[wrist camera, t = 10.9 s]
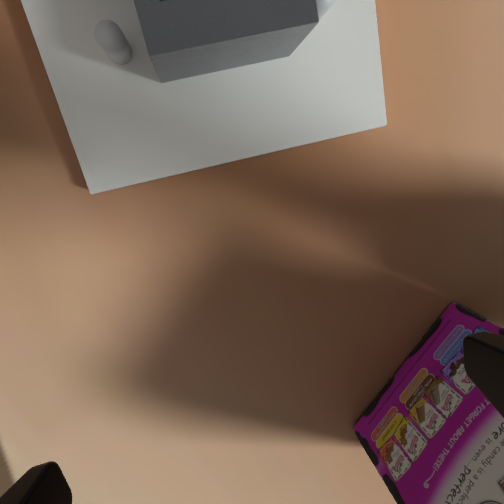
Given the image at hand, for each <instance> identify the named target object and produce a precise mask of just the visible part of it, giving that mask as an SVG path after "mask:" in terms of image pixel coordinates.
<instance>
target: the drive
mask: <svg viewBox="0 0 504 504" xmlns="http://www.w3.org/2000/svg"><path fill="white" fill-rule="evenodd" d="M134 4H135V7H136V11H137V14H138V18H139V22H140V25H141V29H142V32H143V36H144V40H145V43H146V47H147V50H148V54H149V57H150V59H151V61H152V64H153V66H154V68H155V70H156V72H157V75H158V77H159V79H160V81H161V83H165V82H170V81H174V80H179V79H184V78H189V77H193V76H198V75H203V74H208V73H212V72H217V71H222V70H227V69H231V68H236V67H241V66H246V65H251V64H255V63H260V62H265V61H270V60H274V59H279V58H284V57H289V56H290V55H291V54H292V53H293V51H294V50H295V49H296V48H297V47H298V46H299V44H300V43H301V42H302V41H303V40H304V39H305V38H306V36H307V35H308V34H309V33H310V32H311V31H312V29H313V28H314V27H315V26H316V25H317V24H318V23H319V18H318V11H317V4H316V0H134Z"/></svg>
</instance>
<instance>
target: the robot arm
mask: <svg viewBox="0 0 504 504" xmlns="http://www.w3.org/2000/svg"><path fill="white" fill-rule="evenodd" d="M463 356H464V368H465V372H466V374H467V375H468V377H469V378H470V380H471V381H472V382H473V383H474V384H475V385H476V387H477V388H478V389H479V390H480V391H481V392H482V394H483V395H484V396H485V397H486V398H487V399H488V401H489V402H490V403H491V404H492V405H493V406H494V408H495V409H496V410H497V411H498V412H499V413H500V415H501V416H502V417H503V418H504V336H503V335H498V334H494V333H489V332H484V331H481V332H477V333H473V334H470V335H467V336H466V337H465V338H464V340H463ZM0 504H72V493H71V489H70V487H69V485H68V483H67V481H66V479H65V477H64V475H63V473H62V471H61V469H60V467H59V466H58V464H57V463H56V462H52V461H51V462H47V463H44V464H40V465H37V466H34V467H32V468H31V469H29V470H28V471H27V472H26V473H25V474H24V475H23V476H22V477H21V478H20V479H19V480H18V481H17V482H16V483H15V484H14V485H13V486H12V487H11V488H9V489H8V490H7V491H6V492H5V494H3V495H2V496H1V497H0Z"/></svg>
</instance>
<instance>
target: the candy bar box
mask: <svg viewBox="0 0 504 504" xmlns="http://www.w3.org/2000/svg"><path fill="white" fill-rule="evenodd" d="M481 331H484V332H489V333H494V334H498V335H503V336H504V328H502V327H500V326H498V325H496V324H494V323H493V322H491V321H489V320H487V319H486V318H484V317H482V316H480V315H478V314H477V313H475V312H473V311H471V310H469V309H467V308H465V307H463V306H461V305H459V304H457V303H451V304H450V305H449V306H448V307H447V308H446V310H445V311H444V312H443V313H442V315H441V316H440V317H439V319H438V320H437V321H436V322H435V324H434V325H433V326H432V327H431V329H430V330H429V331H428V332H427V334H426V335H425V336H424V338H423V339H422V340H421V342H420V343H419V344H418V345H417V347H416V348H415V349H414V351H413V352H412V353H411V354H410V356H409V357H408V358H407V360H406V361H405V362H404V363H403V365H402V366H401V367H400V369H399V370H398V371H397V373H396V374H395V375H394V376H393V378H392V379H391V380H390V381H389V383H388V384H387V385H386V387H385V388H384V389H383V391H382V392H381V393H380V395H379V396H378V397H377V398H376V400H375V401H374V402H373V403H372V405H371V406H370V407H369V409H368V410H367V411H366V412H365V414H364V415H363V416H362V418H361V419H360V420H359V421H358V423H357V424H356V425H355V426H354V428H353V431H354V433H355V434H356V436H357V437H358V439H359V441H360V443H361V445H362V446H363V448H364V449H365V451H366V453H367V454H368V456H369V458H370V459H371V461H372V463H373V464H374V466H375V467H376V469H377V471H378V473H379V474H380V476H381V477H382V479H383V481H384V482H385V484H386V486H387V487H388V489H389V491H390V492H391V494H392V496H393V497H394V499H395V501H396V502H397V504H504V418H503V417H502V416H501V415H500V413H499V412H498V411H497V410H496V409H495V408H494V406H493V405H492V404H491V403H490V402H489V401H488V399H487V398H486V397H485V396H484V395H483V394H482V392H481V391H480V390H479V389H478V388H477V387H476V385H475V384H474V383H473V382H472V381H471V380H470V378H469V377H468V375H467V374H466V372H465V368H464V356H463V340H464V338H465V337H466V336H467V335H470V334H473V333H477V332H481Z"/></svg>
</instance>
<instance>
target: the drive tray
mask: <svg viewBox="0 0 504 504" xmlns="http://www.w3.org/2000/svg"><path fill="white" fill-rule="evenodd" d="M21 2H22V5H23V8H24V11H25V14H26V16H27V19H28V22H29V25H30V27H31V30H32V33H33V36H34V39H35V41H36V44H37V47H38V50H39V52H40V55H41V58H42V61H43V64H44V66H45V69H46V72H47V75H48V78H49V80H50V83H51V86H52V89H53V91H54V94H55V97H56V100H57V103H58V105H59V108H60V111H61V114H62V116H63V119H64V122H65V125H66V128H67V130H68V133H69V136H70V139H71V141H72V144H73V147H74V150H75V153H76V155H77V158H78V161H79V164H80V166H81V169H82V172H83V175H84V178H85V180H86V183H87V186H88V189H89V192H90V194H95V193H99V192H104V191H108V190H112V189H116V188H121V187H125V186H129V185H134V184H138V183H142V182H146V181H151V180H155V179H159V178H164V177H168V176H172V175H176V174H181V173H185V172H189V171H194V170H198V169H202V168H206V167H211V166H215V165H219V164H224V163H228V162H232V161H236V160H241V159H245V158H249V157H254V156H258V155H262V154H266V153H271V152H275V151H279V150H283V149H288V148H292V147H296V146H301V145H305V144H309V143H313V142H318V141H322V140H326V139H331V138H335V137H339V136H343V135H348V134H352V133H356V132H361V131H365V130H369V129H373V128H378V127H382V126H386V125H387V120H386V109H385V99H384V89H383V79H382V68H381V58H380V48H379V38H378V27H377V17H376V7H375V0H316V4H317V11H318V18H319V23H318V24H317V25H316V26H315V27H314V28H313V29H312V31H311V32H310V33H309V34H308V35H307V36H306V38H305V39H304V40H303V41H302V42H301V43H300V44H299V46H298V47H297V48H296V49H295V50H294V51H293V53H292V54H291V55H290V56H289V57H284V58H279V59H274V60H270V61H265V62H260V63H255V64H251V65H246V66H241V67H236V68H231V69H227V70H222V71H217V72H212V73H208V74H203V75H198V76H193V77H189V78H184V79H179V80H174V81H170V82H165V83H161V81H160V79H159V77H158V75H157V72H156V70H155V68H154V66H153V64H152V61H151V59H150V57H149V54H148V50H147V47H146V43H145V40H144V36H143V32H142V29H141V25H140V22H139V18H138V14H137V11H136V7H135V4H134V0H21Z"/></svg>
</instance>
